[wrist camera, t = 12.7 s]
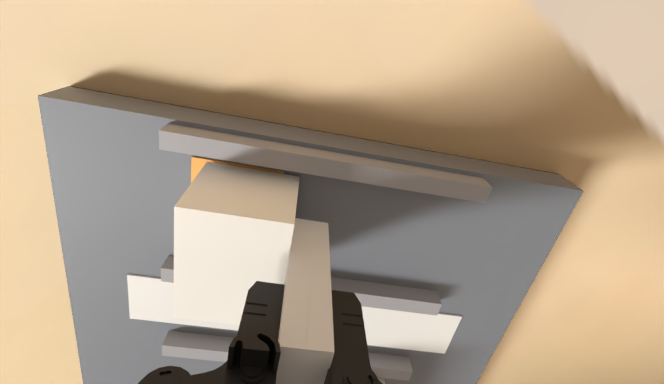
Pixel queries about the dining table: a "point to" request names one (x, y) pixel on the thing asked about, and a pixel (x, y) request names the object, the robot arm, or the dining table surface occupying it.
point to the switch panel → (312, 204)
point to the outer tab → (230, 239)
